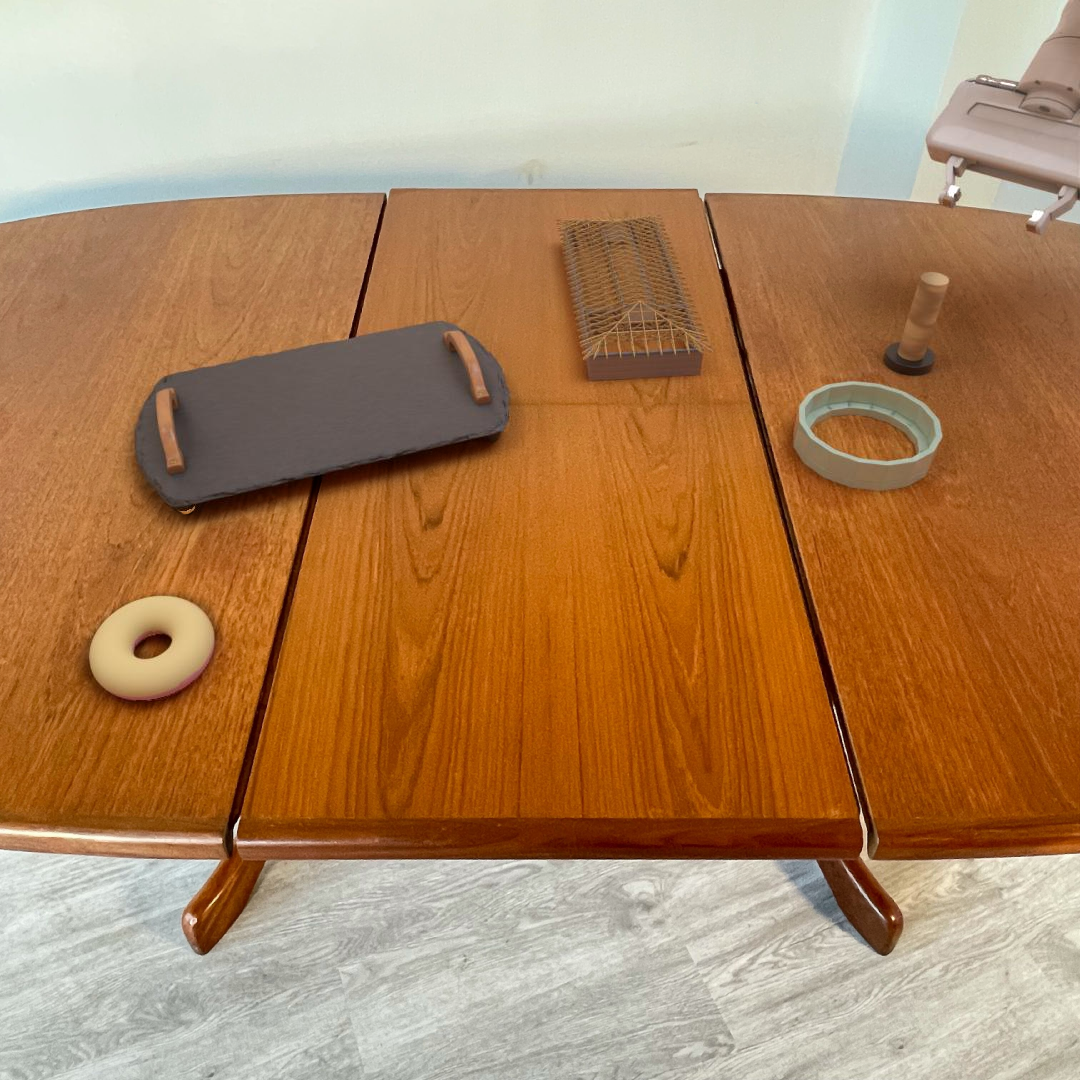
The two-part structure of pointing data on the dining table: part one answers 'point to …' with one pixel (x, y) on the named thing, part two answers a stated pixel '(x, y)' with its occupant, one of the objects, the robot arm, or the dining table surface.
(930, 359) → the wooden peg with base
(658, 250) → the rafter model
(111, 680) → the donut
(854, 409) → the pale green band ring
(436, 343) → the serving tray
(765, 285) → the dining table surface
